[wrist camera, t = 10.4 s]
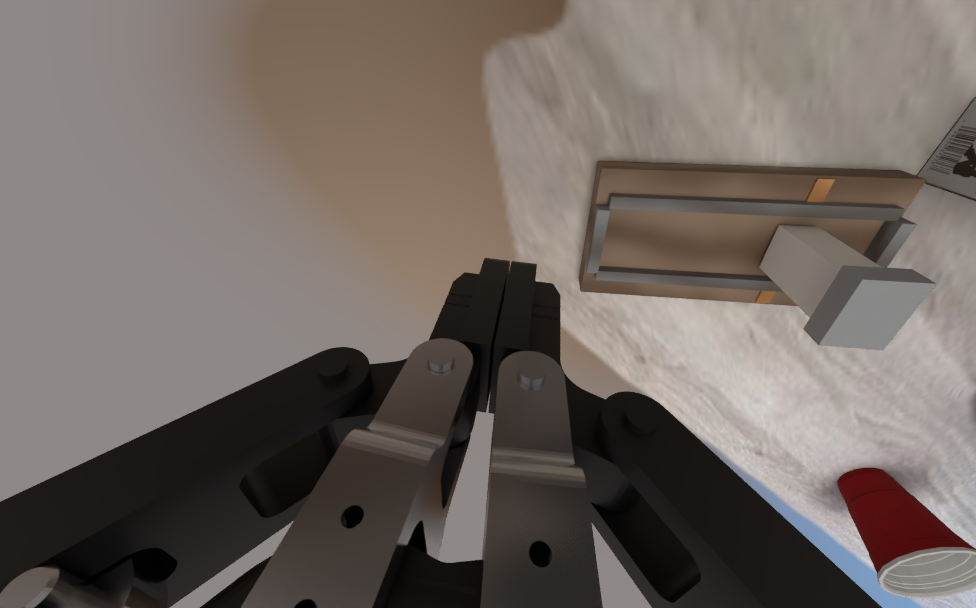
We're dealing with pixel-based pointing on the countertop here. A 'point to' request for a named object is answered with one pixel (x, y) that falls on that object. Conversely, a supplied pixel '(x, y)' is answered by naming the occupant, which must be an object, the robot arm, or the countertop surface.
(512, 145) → the countertop surface
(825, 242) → the fader tab
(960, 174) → the grey brown upright box
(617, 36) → the countertop surface
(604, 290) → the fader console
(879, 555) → the plastic cup
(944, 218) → the countertop surface
